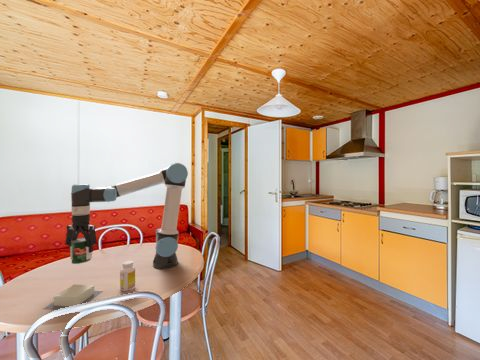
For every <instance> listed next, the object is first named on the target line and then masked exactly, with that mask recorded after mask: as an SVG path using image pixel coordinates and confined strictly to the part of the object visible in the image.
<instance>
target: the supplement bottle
mask: <svg viewBox="0 0 480 360" xmlns="http://www.w3.org/2000/svg"><path fill="white" fill-rule="evenodd" d="M119 276H120V277H119V278H120V279H119V289H120V291H123V292H126V291H130V290H133V289H134V288H135V287H136V267H135V266H134V261H133V260H127V261H123V262H122V268H121V269H120V272H119Z"/></svg>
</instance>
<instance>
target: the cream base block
mask: <svg viewBox="0 0 480 360" xmlns="http://www.w3.org/2000/svg"><path fill="white" fill-rule="evenodd" d="M94 291H95V285H93V284H72V285H71V286H69V287H67V288H65V289H64V290H62V291H60V292H59V293H57V294H56V295H54V296H53V302H54V306H73V305H77V304H81V303H82V302H83V301H85V300H86V299H88V298H89V297H91V296H92V295H93V294H94Z"/></svg>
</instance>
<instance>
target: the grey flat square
mask: <svg viewBox="0 0 480 360" xmlns="http://www.w3.org/2000/svg"><path fill="white" fill-rule="evenodd" d="M103 292H104V291H103V290H94V294H93V295H92V296H91V297H89V298H88V299H86V300H85V301H83V302H82V303H86V302H88V303H90V302H91V301H92V300H94V298H96V297H99V295H100V294H102V293H103ZM82 303H81V304H82ZM65 307H69V306H54V301H53V302H51V303H49V304H48V305H47V306H45V307H43V308H42V310H54V311H55V310H56V309H60V308H65Z"/></svg>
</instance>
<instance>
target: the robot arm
mask: <svg viewBox="0 0 480 360" xmlns="http://www.w3.org/2000/svg"><path fill="white" fill-rule="evenodd" d="M188 175H189V173H188V168H187V167H186V166H185V165H184V164H183V163H180V162H174V163H171V164H169V165H168V166H166V167H165V168H162V169H160V170H159V171H157V172H155V173H151V174H148V175H144V176H141V177H137V178H133V179H130V180H127V181H123V182H121V183H117V184H113V185H109V186H106V187H91V186H90V184H87V183H86V184H85V183H80V184H79V183H78V184H72V186H71V193H70V194H71V200H70V201H71V214H72V215H71V223H72V224H70V225H67V226H66V234H65V235H66V236H65V243H64V245H66V246H69V253H70V260H72V253H71V252H72V250H71V241H72V240H76V239H78V237H79V235H80V234H82V235H83V238H85V240H86V242H87V245H88V246H87V247H86V260H88V259H90V258H91V259H92V258H93V252H94V246H95V245H96V244H98V239H97V234H96V224H93V225H92V224H90V221H91V215H90V213H91V203H105V202H106V203H110V202H115V201H117V198H120V197H122V196H123V197H124V196H126V195H130V194H133V193H136V192H139V191H142V190H145V189H146V190H147V189H149V188H151V187H155V186H158V185H162V184H164V186H165V187H166V191H165V192H166V193H165V199H164V206H163V207H164V208H163V213H162V220H161V226H160V228H157V229H156V230H155V255H154V258H153V261H152V267H153V268H156V269H168V268H169V269H170V268H172V267H175V266H176V265H178V263H179V261H178V256H177V253H176V252H177V251H178V247H179V244H178V241H179V233H180V232H179V231H178V229H177V227H178V220H179V213H180V206H181V198H182V192H183V189H185V188H186V181H187V178H188Z"/></svg>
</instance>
